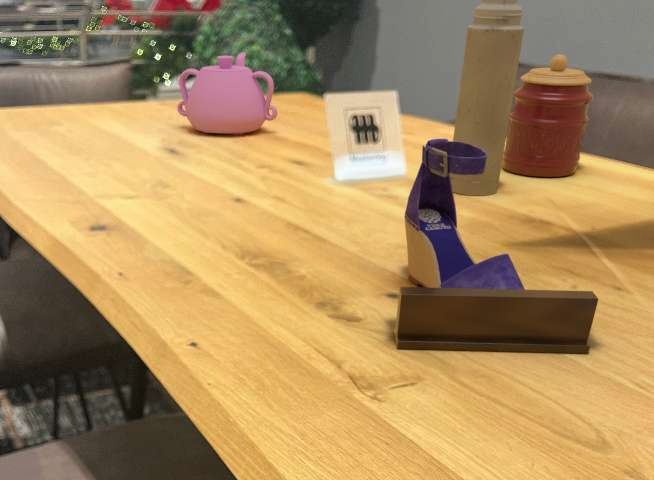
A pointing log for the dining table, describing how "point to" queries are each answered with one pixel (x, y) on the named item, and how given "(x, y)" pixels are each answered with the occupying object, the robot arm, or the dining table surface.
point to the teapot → (226, 98)
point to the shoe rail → (494, 319)
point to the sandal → (448, 225)
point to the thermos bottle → (488, 89)
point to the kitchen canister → (548, 121)
